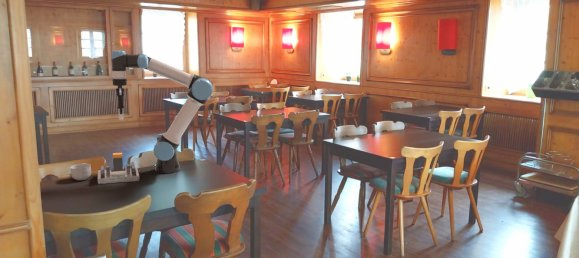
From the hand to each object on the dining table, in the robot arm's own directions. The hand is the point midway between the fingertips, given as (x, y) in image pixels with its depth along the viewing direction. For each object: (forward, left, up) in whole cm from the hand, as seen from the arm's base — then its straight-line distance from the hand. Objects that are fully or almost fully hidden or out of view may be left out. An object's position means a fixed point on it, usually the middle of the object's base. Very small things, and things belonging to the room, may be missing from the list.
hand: (121, 119), depth 268 cm
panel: (+3, +1, -34) cm, 35 cm away
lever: (+3, +1, -29) cm, 30 cm away
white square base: (+3, +1, -31) cm, 32 cm away
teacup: (+22, -5, -35) cm, 42 cm away
